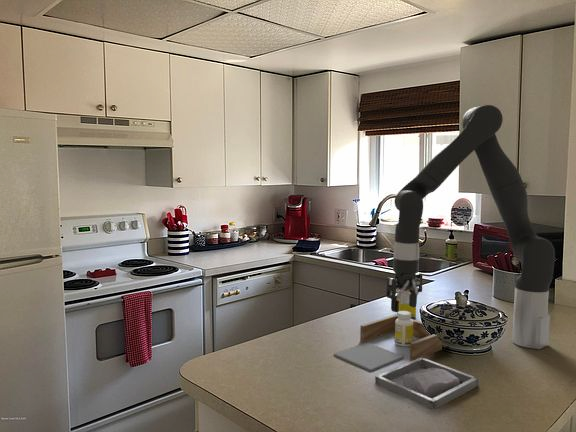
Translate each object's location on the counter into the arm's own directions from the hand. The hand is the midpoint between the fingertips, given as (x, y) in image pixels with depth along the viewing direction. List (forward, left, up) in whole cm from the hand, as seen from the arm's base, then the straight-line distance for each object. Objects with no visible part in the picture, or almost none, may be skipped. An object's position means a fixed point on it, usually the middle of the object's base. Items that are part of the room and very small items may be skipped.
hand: (404, 309), depth 150 cm
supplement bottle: (0, 0, -11) cm, 11 cm away
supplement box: (+16, -22, -11) cm, 29 cm away
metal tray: (-21, +18, -11) cm, 30 cm away
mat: (0, +16, -11) cm, 19 cm away
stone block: (-22, +18, -12) cm, 31 cm away
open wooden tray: (0, 0, -11) cm, 11 cm away
